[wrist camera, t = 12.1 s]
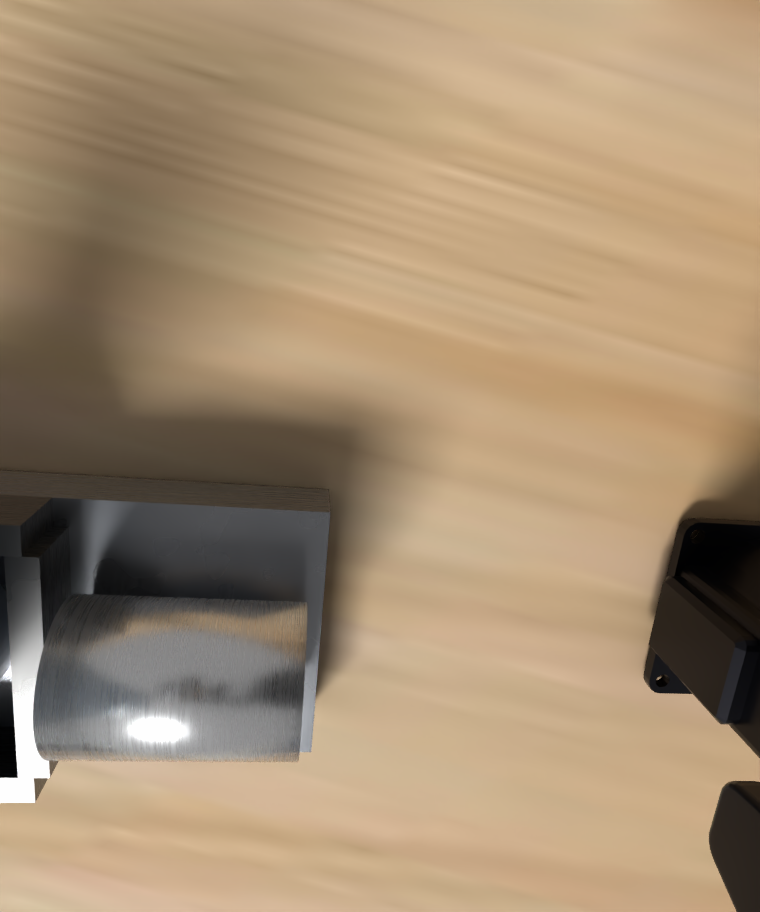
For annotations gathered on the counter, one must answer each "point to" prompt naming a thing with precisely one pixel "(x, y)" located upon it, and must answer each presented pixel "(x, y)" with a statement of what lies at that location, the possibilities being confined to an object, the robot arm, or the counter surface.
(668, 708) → the counter surface
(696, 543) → the robot arm
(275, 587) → the dark grey open box
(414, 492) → the counter surface
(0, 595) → the dome-capped cylinder
